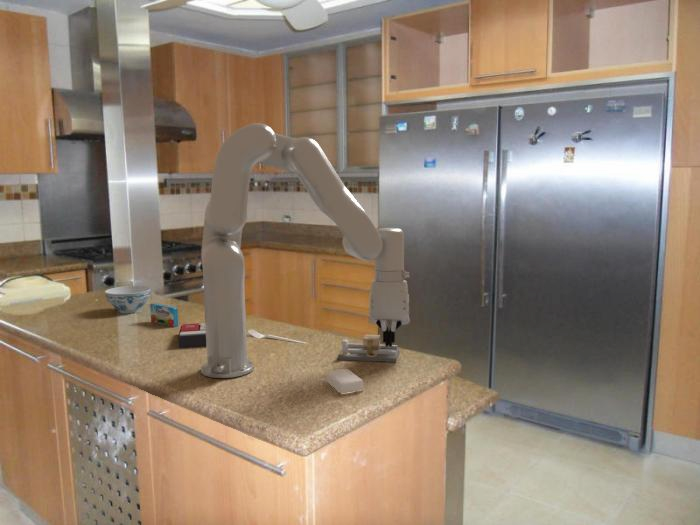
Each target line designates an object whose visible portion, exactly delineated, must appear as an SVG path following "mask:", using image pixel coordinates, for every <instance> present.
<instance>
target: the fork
mask: <svg viewBox="0 0 700 525" xmlns="http://www.w3.org/2000/svg"><path fill="white" fill-rule="evenodd" d="M247 332H248V333H249V334H250V335H251V337H253V338H254V339H255V338H256V339H266V338H268V339H273V340H278V341H283V342H284V341H285V342H290V343H299V344H307V342H304V341H300V340H295V339H291V338H286V337H281V336H276V335H272V334H266V335H264V334H261V333H259V332H257V331H256V330H254V329H253V328H251V329H248V330H247Z"/></svg>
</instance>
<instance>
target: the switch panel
mask: <svg viewBox="0 0 700 525" xmlns="http://www.w3.org/2000/svg"><path fill="white" fill-rule="evenodd" d="M399 354H400V347H398V345H397V344H396V345H395V344H392V347H390V346H389V345H388V346H385V344H380V350H372V354H367V350H363V343H354V342H353V343H349V340H348V339H343V340H341V350H340V351H339V353H338V355H337V360H338V361H339V360H341V361H355V360H357V361H358V360H359V361H360V362H376V361H386V362H385V363H397V362H396V361H398V358H399ZM357 361H356V362H357ZM359 361H358V362H359Z"/></svg>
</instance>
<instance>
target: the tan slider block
mask: <svg viewBox="0 0 700 525" xmlns="http://www.w3.org/2000/svg"><path fill="white" fill-rule="evenodd" d="M362 344H363V350H367V354H372V350H380V345H381V335H380V334H365V335H364V336H363V338H362Z"/></svg>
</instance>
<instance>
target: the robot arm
mask: <svg viewBox="0 0 700 525" xmlns="http://www.w3.org/2000/svg"><path fill="white" fill-rule="evenodd" d="M256 164H259V165H264V166H267V167H271V168H275V169H278V170H283V171H285V172H290V173H291V172H293V173H295V175H296V176H297V178H298V180H299V181H300V182H301V183H302V185H303V187H304V189H305V190H306V192H307V193H308V195H309V197H310V198H311V199H312V201H313V203H314V205H316V207H317V208H318V209H319V210H320V211H321V213H323V214H325V215H326V216H327V217H328V218H329V219H330V220H331V221H332V222H333V223H334V224H335V225H336V226H337V227H338V229H339V230H340V231H341V233H342V234H343V237H342V243H341V244H342V247H343V249H344V251H345V252H346V253H347V254H348V255H350V256H352V257H354V258H356V259H359V260H360V261H365V262H371V261H374V279H373V280H371V285H370V292H369V307H368V308H369V309H368V310H369V311H368V314H369V317H368V323H370V324H373V325H377V326H378V327H379V328H380V329H381V332H382V338H383V339H382V343H385V344H384V345H385V346H388V345H389V346H390V347H392V345H394V344H395V343H396V331H397V329H399V328H400V327H401V326H405V325H409V324H410V322H411V320H410V316H409V314H410V295H409V285H408V281H407V280H405V279H406V278H410V271H406V270H405V233H404V231H403V230H402V229H401V228H398V227H381V228H378V229H377V228H376V226H375V224H374V223H373V221H372V220H371V218H370V216H369V215H368V214H367V212H366V211H365V210H364V208H363V207H362V206H361V205H360V203H359V202H358V201H357V200H356V198H355V197H354V195H353V194H352V192H350V190H349V189H348V188H347V187H346V186H345V184H344V182H343V180H342V179H341V177H340V176H339V175H338V173H337V172H336V170H335V168H334V166H333V165H332V163H331V162H330V160H329V158H328V157H327V155H326V154H325V152H324V151H323V149H322V147H321V145H320V144H319V143H318V142H317V141H316V140H315V139H313V138H312V137H305V136H302V137H297V138H296V137H292V136H287V135H284V134H279V133H275V131H274V130H273V129H272V127H270V126H269V125H267V124H265V123H262V122H254V123H249V124H247V125H244V126H242V127H240V128H238V129H236V130H235V131H234V132H233V133H230V135H229V136H228V137H227V138H226V139H225V140H224V142H223V143H222V144H221V146H220V148H219V149H218V152H217V154H216V157H215V162H214V166H213V172H212V173H213V174H212V180H211V187H210V188H211V190H210V198H209V201H208V202H207V204H206V208H205V212H204V221H203V232H202V241H201V243H202V244H201V255H200V256H201V263H202V276H203V277H202V278H203V280H202V282H203V304H204V320H205V322H204V323H205V327H206V346H205V347H206V362H204V363H203V364H201V366H200V373H201V374H202V375H203V376H204V377H207V378H214V379H230V378H237V377H241V376H244V375H247V374H249V373H251V372H252V371H253V370H254V368H255V367H254V366H255V365H254V362H253V361H251V360H250V359H248V351H247V348H248V345H247V324H246V323H247V322H246V318H247V316H246V297H245V291H246V290H245V288H246V287H245V283H246V282H245V281H246V262H245V257H244V254H243V251H242V250H241V248H242V237H243V236H242V235H243V234H242V233H243V228H244V227H245V225H246V223H247V219H248V201H249V200H248V198H249V190H250V184H251V183H250V182H251V177H252V176H251V175H252V173H253V172H252V171H253V168H254V167H255V166H256ZM387 321H391V326H390V328H389V326H388V322H387Z"/></svg>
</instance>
